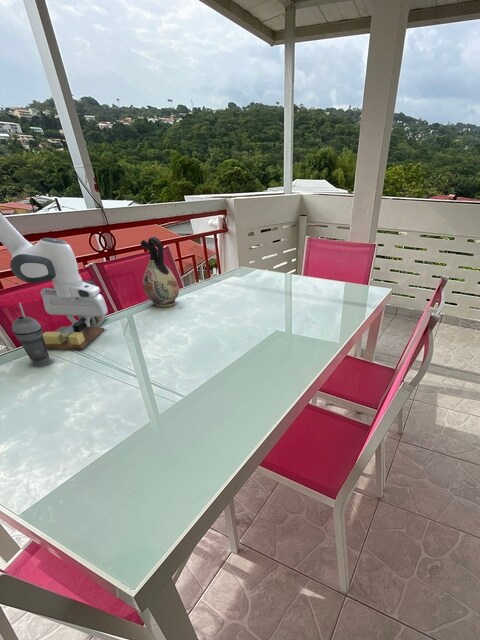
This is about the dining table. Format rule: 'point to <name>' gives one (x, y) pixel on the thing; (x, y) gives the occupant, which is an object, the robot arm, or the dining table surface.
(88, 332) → the cutting board
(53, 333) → the butter block
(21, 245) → the robot arm
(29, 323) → the beverage cup
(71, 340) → the butter slice
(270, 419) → the dining table surface
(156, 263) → the ceramic jug
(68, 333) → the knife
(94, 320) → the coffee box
